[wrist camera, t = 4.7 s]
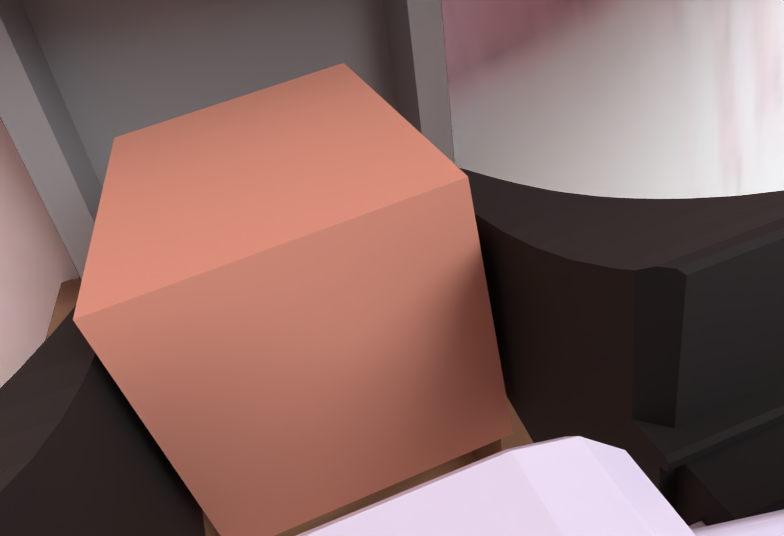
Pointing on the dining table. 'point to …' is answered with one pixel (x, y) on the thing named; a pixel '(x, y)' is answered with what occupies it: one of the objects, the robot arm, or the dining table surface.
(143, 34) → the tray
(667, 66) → the dining table surface
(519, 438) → the caddy
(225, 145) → the brick-red block
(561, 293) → the robot arm
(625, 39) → the dining table surface
